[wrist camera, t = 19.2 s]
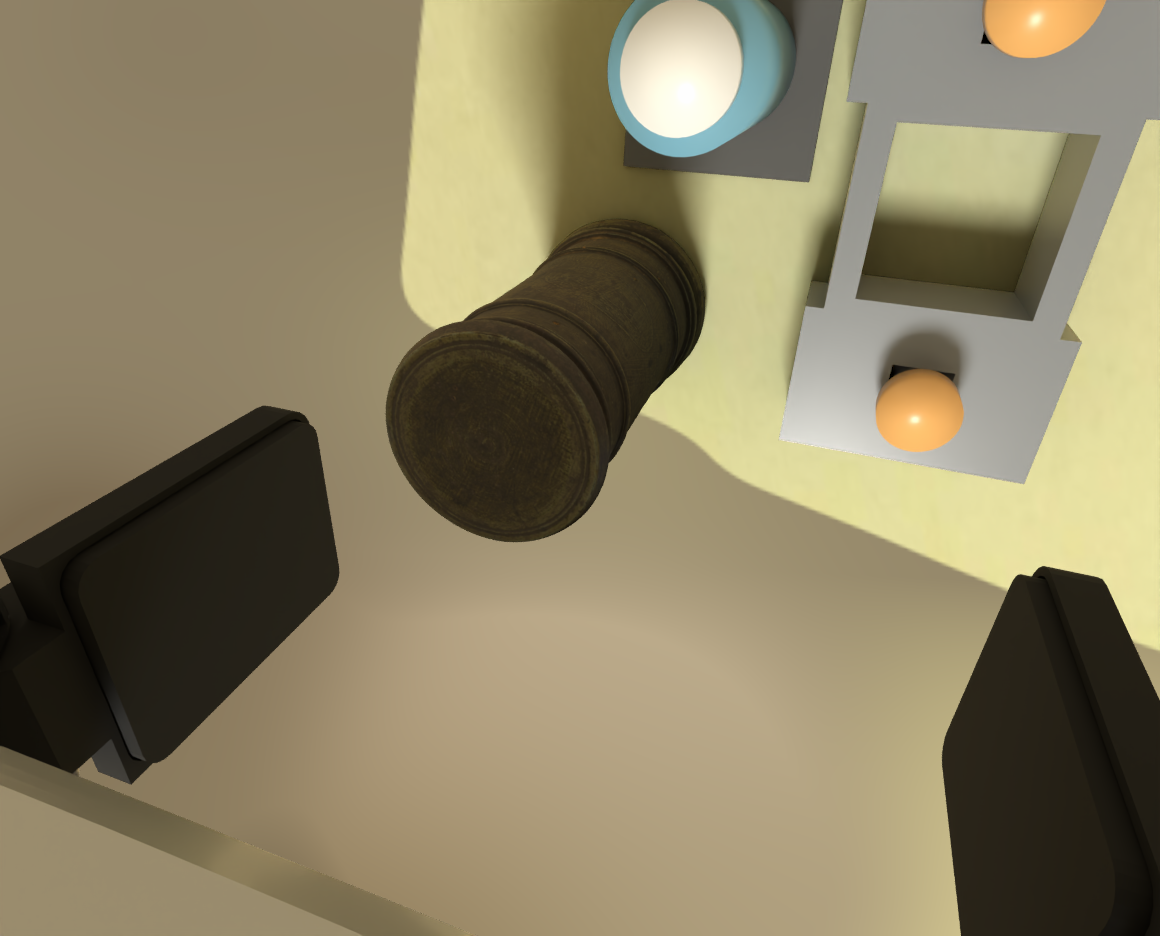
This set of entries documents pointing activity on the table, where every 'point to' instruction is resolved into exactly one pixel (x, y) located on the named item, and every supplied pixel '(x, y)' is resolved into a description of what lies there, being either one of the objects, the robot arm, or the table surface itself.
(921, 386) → the orange mushroom peg
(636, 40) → the cartridge
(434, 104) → the table surface
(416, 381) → the container
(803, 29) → the mat
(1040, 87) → the housing
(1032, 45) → the plunger
